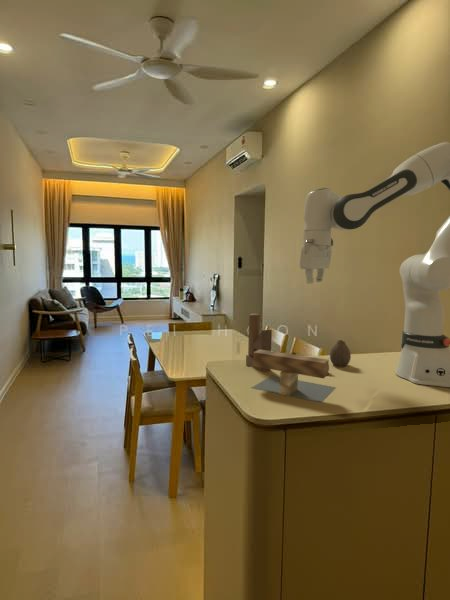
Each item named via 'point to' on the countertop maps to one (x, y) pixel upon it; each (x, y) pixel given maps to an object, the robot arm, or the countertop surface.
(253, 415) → the countertop surface
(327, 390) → the slate mat
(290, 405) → the countertop surface
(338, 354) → the vase
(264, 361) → the walnut bar
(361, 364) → the countertop surface
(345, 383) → the countertop surface
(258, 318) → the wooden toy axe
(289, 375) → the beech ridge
